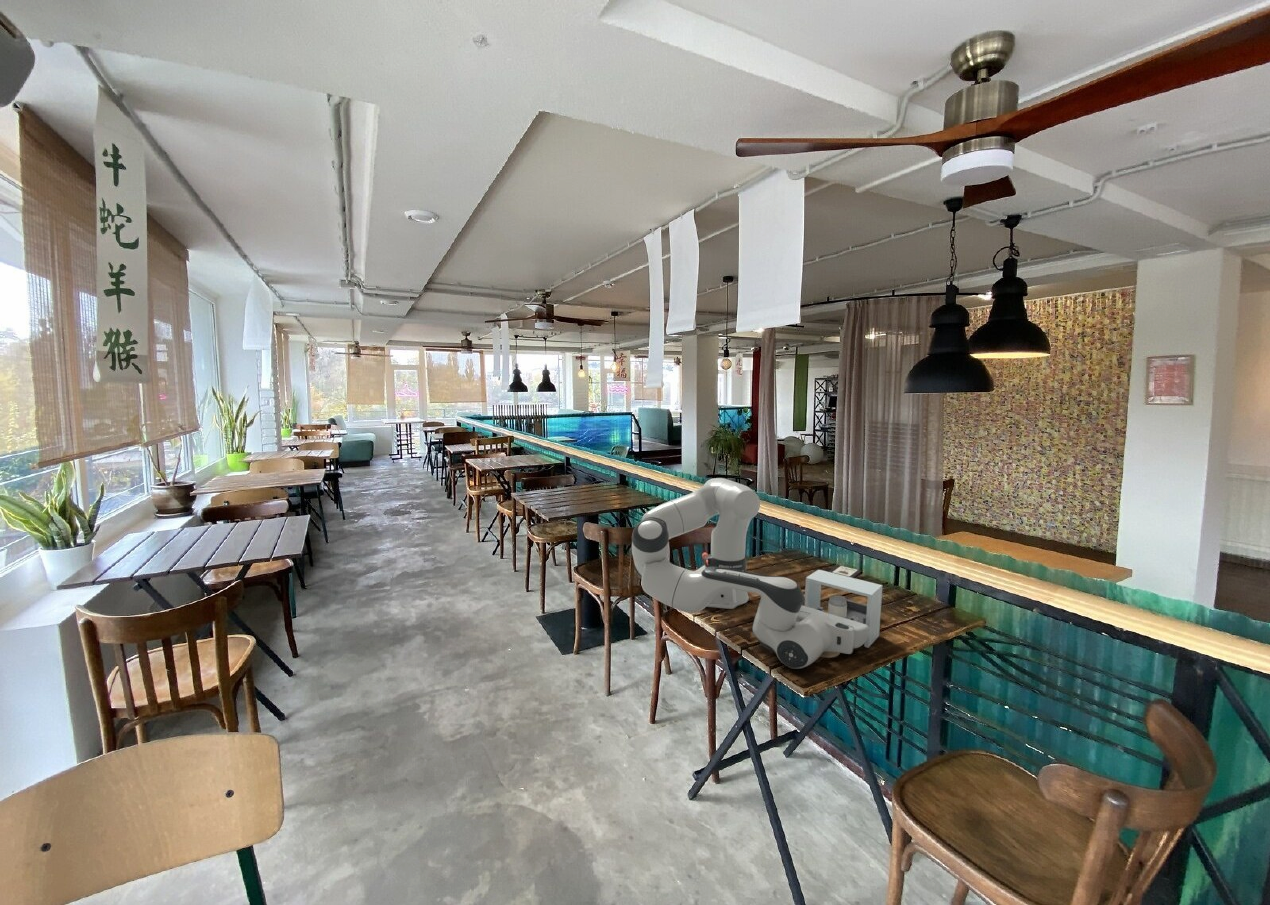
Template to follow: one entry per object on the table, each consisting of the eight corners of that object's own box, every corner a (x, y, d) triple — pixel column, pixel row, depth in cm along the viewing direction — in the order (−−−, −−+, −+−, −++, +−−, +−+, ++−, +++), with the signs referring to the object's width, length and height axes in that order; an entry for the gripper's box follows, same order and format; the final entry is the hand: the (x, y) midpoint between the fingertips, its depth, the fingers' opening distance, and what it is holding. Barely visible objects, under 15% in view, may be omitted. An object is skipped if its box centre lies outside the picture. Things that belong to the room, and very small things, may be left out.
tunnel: (868, 647, 136) (871, 594, 134) (803, 626, 148) (805, 577, 146) (879, 635, 142) (882, 585, 141) (816, 616, 154) (818, 569, 153)
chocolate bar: (819, 577, 185) (837, 565, 198) (819, 580, 185) (837, 567, 198) (844, 584, 179) (861, 570, 192) (844, 586, 179) (861, 573, 192)
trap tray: (866, 628, 147) (867, 619, 146) (831, 618, 153) (832, 608, 153) (877, 617, 154) (878, 608, 154) (844, 607, 161) (844, 598, 160)
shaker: (830, 639, 140) (832, 601, 139) (824, 631, 145) (826, 594, 144) (847, 640, 140) (850, 601, 139) (841, 631, 145) (843, 594, 143)
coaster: (809, 657, 131) (809, 655, 131) (799, 640, 140) (799, 638, 140) (845, 658, 131) (845, 656, 130) (832, 640, 139) (833, 638, 139)
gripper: (780, 630, 139) (801, 613, 150) (857, 656, 126) (875, 636, 136) (781, 608, 139) (802, 593, 149) (858, 632, 125) (876, 614, 135)
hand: (838, 614), depth 142 cm, fingers open, 8 cm apart
